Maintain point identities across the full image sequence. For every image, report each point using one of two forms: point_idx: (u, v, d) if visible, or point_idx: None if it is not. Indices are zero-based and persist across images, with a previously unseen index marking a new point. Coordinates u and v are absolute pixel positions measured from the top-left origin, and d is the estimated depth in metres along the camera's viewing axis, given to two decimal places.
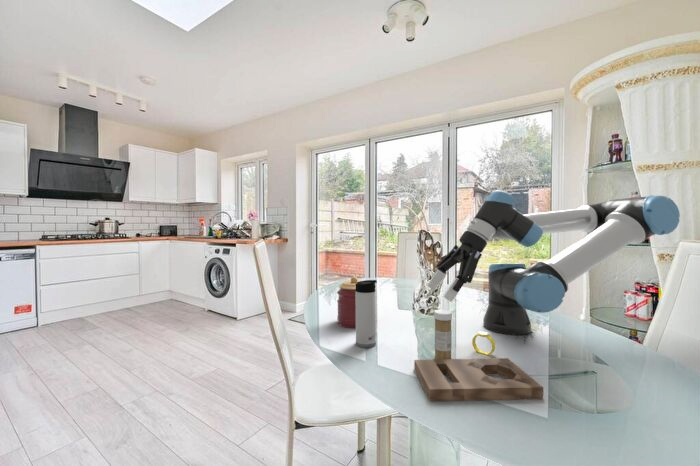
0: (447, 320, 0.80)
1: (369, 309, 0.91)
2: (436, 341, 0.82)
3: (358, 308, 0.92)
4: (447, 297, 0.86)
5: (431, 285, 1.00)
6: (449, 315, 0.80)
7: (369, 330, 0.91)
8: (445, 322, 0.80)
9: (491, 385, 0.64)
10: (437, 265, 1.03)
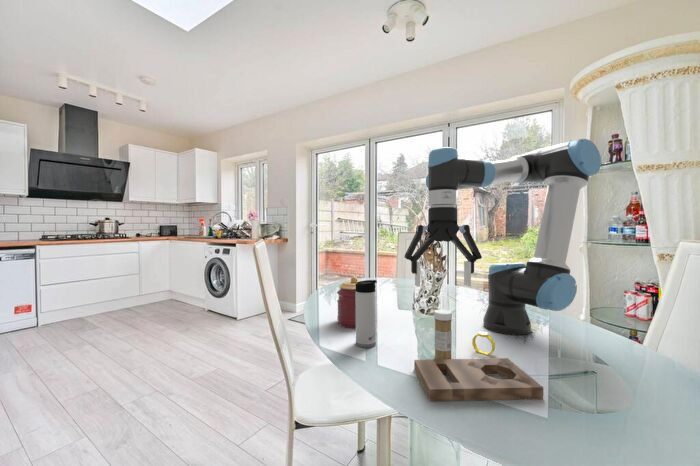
0: (447, 320, 0.80)
1: (369, 309, 0.91)
2: (436, 341, 0.82)
3: (358, 308, 0.92)
4: None
5: None
6: (449, 315, 0.80)
7: (369, 330, 0.91)
8: (445, 322, 0.80)
9: (491, 385, 0.64)
10: (409, 257, 0.80)
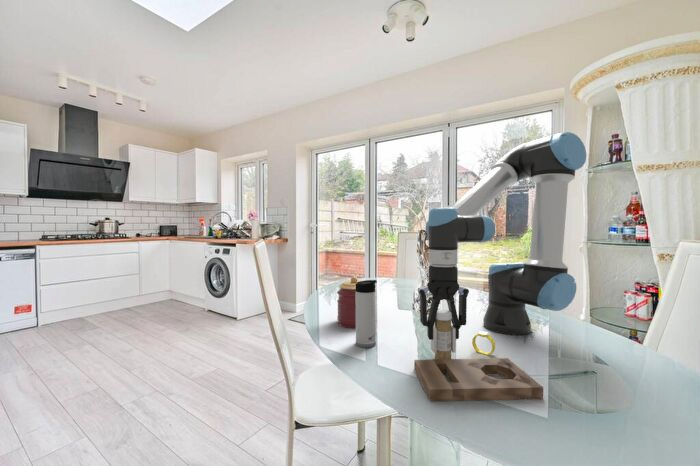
0: (447, 320, 0.80)
1: (369, 309, 0.91)
2: None
3: (358, 308, 0.92)
4: None
5: None
6: (449, 315, 0.80)
7: (369, 330, 0.91)
8: (445, 322, 0.80)
9: (491, 385, 0.64)
10: (426, 324, 0.81)
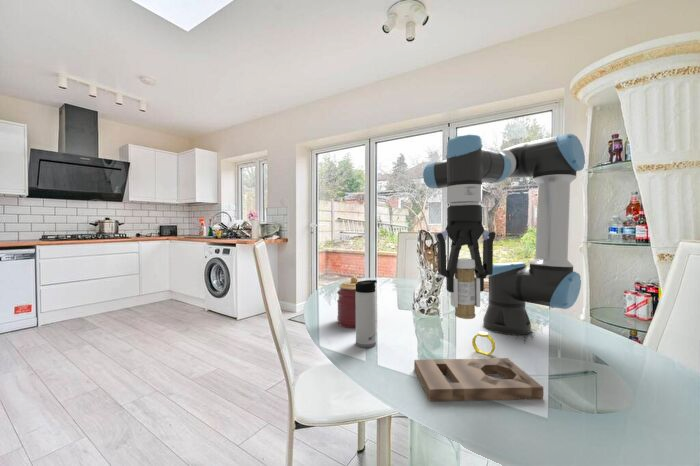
0: (470, 268, 0.68)
1: (369, 309, 0.91)
2: None
3: (358, 308, 0.92)
4: None
5: None
6: (472, 262, 0.68)
7: (369, 330, 0.91)
8: (467, 270, 0.68)
9: (491, 385, 0.64)
10: (445, 273, 0.69)
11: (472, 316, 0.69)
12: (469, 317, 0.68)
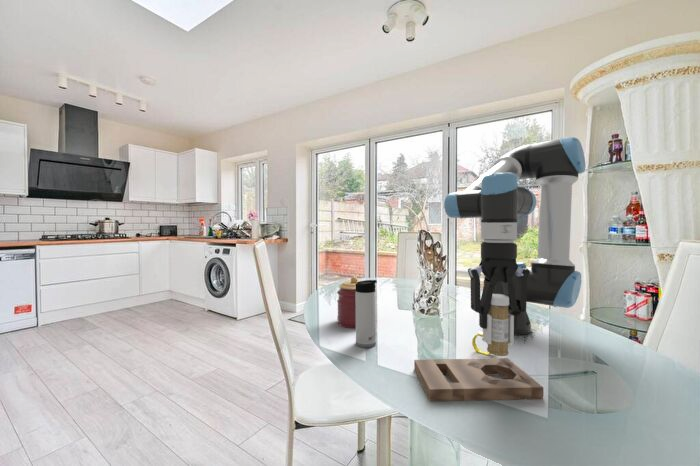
0: (505, 305, 0.68)
1: (369, 309, 0.91)
2: None
3: (358, 308, 0.92)
4: None
5: None
6: (507, 299, 0.68)
7: (369, 330, 0.91)
8: (502, 307, 0.68)
9: (491, 385, 0.64)
10: (479, 310, 0.69)
11: (506, 353, 0.69)
12: (503, 354, 0.68)
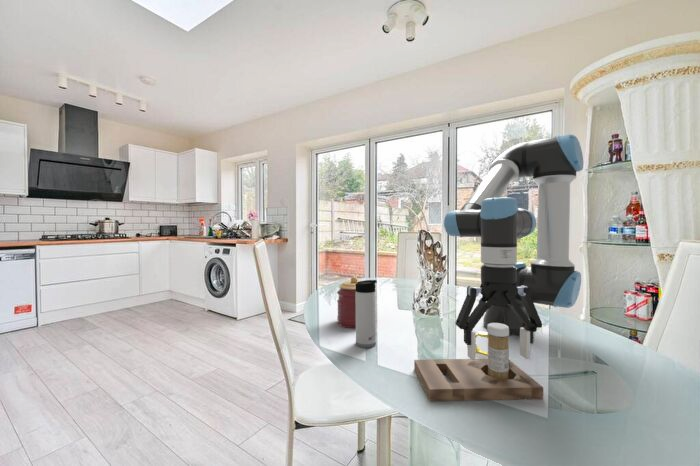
0: (505, 336, 0.68)
1: (369, 309, 0.91)
2: (490, 360, 0.70)
3: (358, 308, 0.92)
4: None
5: None
6: (507, 330, 0.69)
7: (369, 330, 0.91)
8: (502, 338, 0.68)
9: (491, 385, 0.64)
10: (463, 327, 0.69)
11: None
12: None
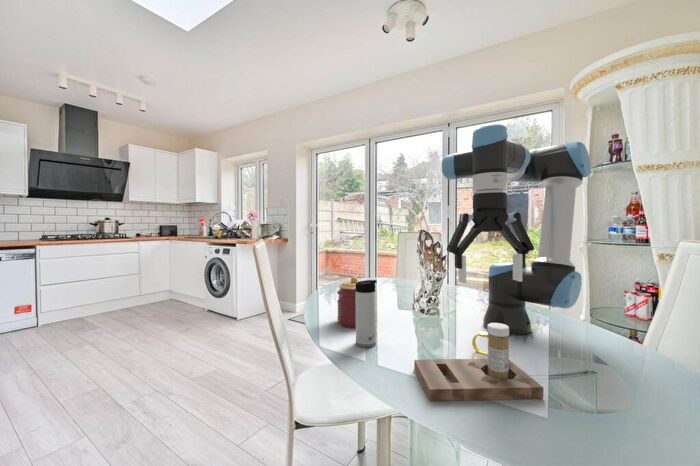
0: (505, 336, 0.68)
1: (369, 309, 0.91)
2: (491, 360, 0.70)
3: (358, 308, 0.92)
4: None
5: None
6: (507, 330, 0.69)
7: (369, 330, 0.91)
8: (502, 338, 0.68)
9: (491, 385, 0.64)
10: (454, 250, 0.71)
11: None
12: None
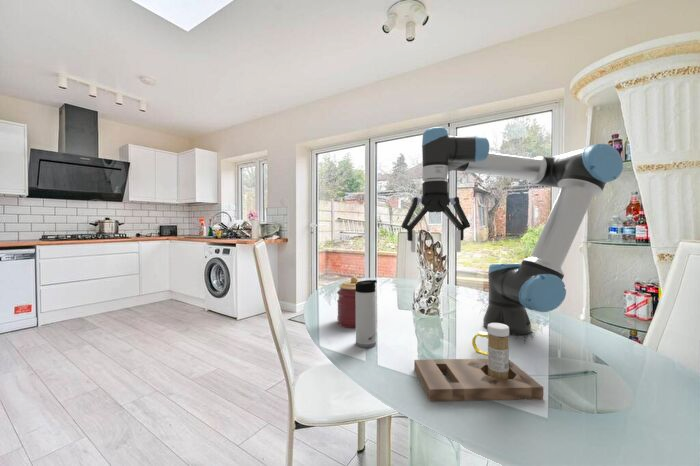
0: (505, 336, 0.68)
1: (369, 309, 0.91)
2: (491, 360, 0.70)
3: (358, 308, 0.92)
4: None
5: None
6: (507, 330, 0.69)
7: (369, 330, 0.91)
8: (502, 338, 0.68)
9: (491, 385, 0.64)
10: (405, 226, 0.90)
11: None
12: None
